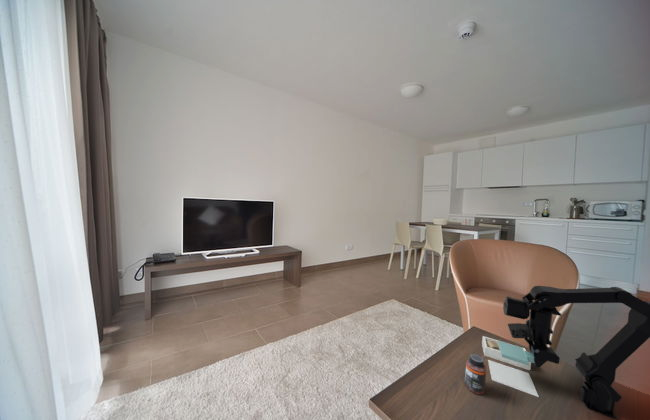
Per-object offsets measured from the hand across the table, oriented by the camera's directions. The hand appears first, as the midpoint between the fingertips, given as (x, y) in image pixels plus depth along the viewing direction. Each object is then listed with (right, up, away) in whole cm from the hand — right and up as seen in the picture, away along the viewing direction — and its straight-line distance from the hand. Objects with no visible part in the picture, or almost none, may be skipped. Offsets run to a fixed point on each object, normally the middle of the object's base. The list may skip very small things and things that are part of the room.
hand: (535, 363), depth 82 cm
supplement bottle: (-23, -8, -2) cm, 25 cm away
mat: (-6, -8, +4) cm, 10 cm away
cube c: (-2, -7, +17) cm, 18 cm away
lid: (-4, +1, +2) cm, 5 cm away
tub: (+1, -7, +15) cm, 17 cm away
